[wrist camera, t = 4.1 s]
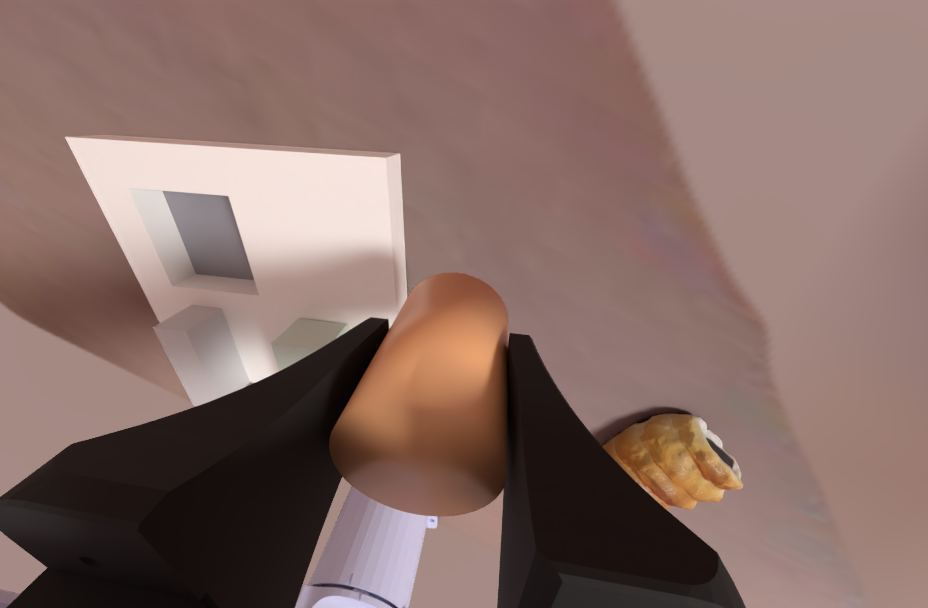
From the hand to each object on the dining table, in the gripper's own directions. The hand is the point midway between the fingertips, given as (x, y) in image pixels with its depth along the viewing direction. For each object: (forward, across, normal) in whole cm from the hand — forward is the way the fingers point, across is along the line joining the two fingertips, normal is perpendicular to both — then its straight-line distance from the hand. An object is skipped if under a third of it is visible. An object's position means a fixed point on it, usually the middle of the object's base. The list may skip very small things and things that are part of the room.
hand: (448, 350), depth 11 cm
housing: (+8, +12, +3) cm, 15 cm away
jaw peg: (+2, 0, 0) cm, 2 cm away
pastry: (+9, -14, +14) cm, 21 cm away
